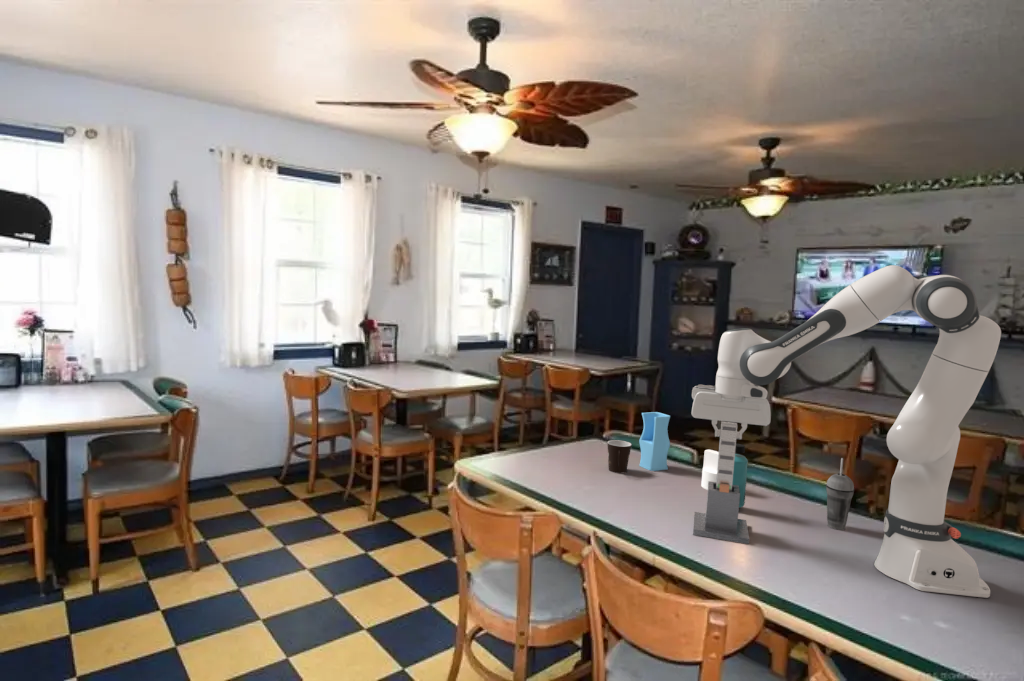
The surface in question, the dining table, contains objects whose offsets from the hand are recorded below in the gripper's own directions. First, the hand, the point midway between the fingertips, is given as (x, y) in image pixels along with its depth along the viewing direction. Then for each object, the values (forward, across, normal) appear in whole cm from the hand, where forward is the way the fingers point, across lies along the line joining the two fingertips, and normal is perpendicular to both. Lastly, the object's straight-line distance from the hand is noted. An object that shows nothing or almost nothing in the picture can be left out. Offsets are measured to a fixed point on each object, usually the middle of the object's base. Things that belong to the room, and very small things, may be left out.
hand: (728, 437), depth 162 cm
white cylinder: (+26, -1, +39) cm, 47 cm away
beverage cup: (+26, +32, +18) cm, 45 cm away
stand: (+26, 0, 0) cm, 26 cm away
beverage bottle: (+26, +4, +20) cm, 33 cm away
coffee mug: (+26, -35, +41) cm, 60 cm away
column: (+18, 0, 0) cm, 18 cm away
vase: (+26, -23, +53) cm, 63 cm away
